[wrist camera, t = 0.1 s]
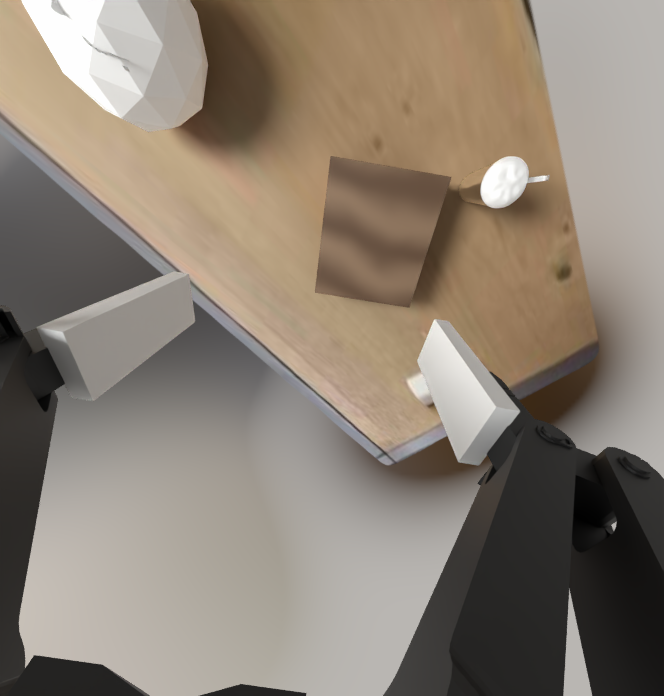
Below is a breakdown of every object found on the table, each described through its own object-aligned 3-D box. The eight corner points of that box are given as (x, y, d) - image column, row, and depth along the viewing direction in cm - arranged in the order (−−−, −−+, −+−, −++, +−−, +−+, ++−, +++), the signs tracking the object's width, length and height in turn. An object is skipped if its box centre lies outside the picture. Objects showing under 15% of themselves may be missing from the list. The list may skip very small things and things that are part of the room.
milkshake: (492, 204, 34) (541, 204, 25) (451, 208, 35) (486, 211, 26) (499, 163, 32) (556, 148, 23) (455, 168, 32) (495, 156, 24)
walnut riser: (332, 162, 33) (330, 155, 28) (437, 180, 33) (451, 177, 29) (318, 282, 41) (314, 292, 36) (402, 296, 41) (409, 307, 37)
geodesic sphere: (262, 70, 25) (65, -187, 13) (197, 190, 30) (15, 90, 18) (203, 9, 29) (11, -230, 17) (155, 125, 34) (-17, 8, 22)
